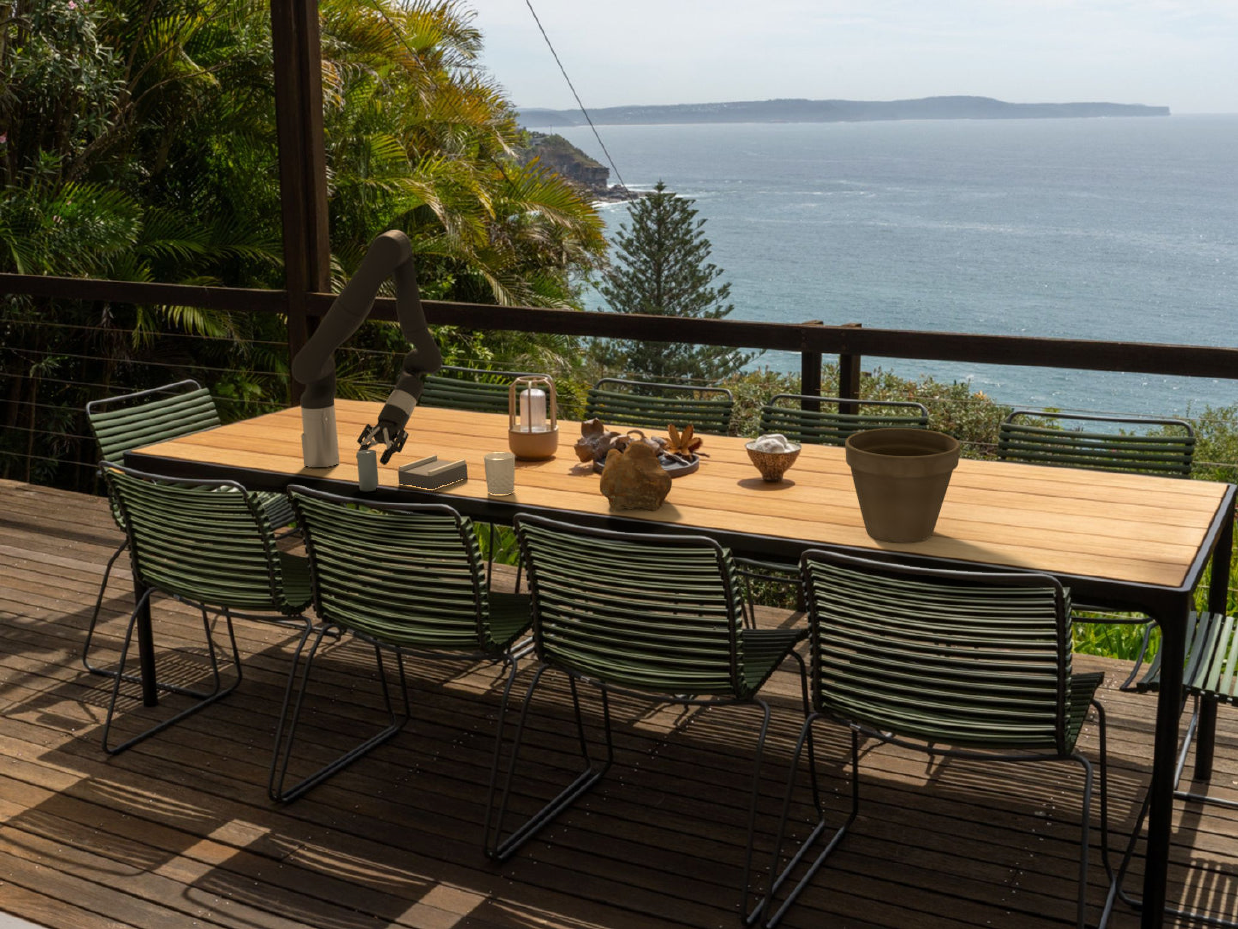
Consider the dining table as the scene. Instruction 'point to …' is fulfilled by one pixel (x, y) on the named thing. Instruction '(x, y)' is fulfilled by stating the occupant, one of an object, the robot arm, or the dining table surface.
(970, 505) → the dining table surface
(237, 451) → the dining table surface
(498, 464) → the white cup
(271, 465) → the dining table surface
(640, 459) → the rough brown rock
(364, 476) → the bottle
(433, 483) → the block
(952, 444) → the plant pot
